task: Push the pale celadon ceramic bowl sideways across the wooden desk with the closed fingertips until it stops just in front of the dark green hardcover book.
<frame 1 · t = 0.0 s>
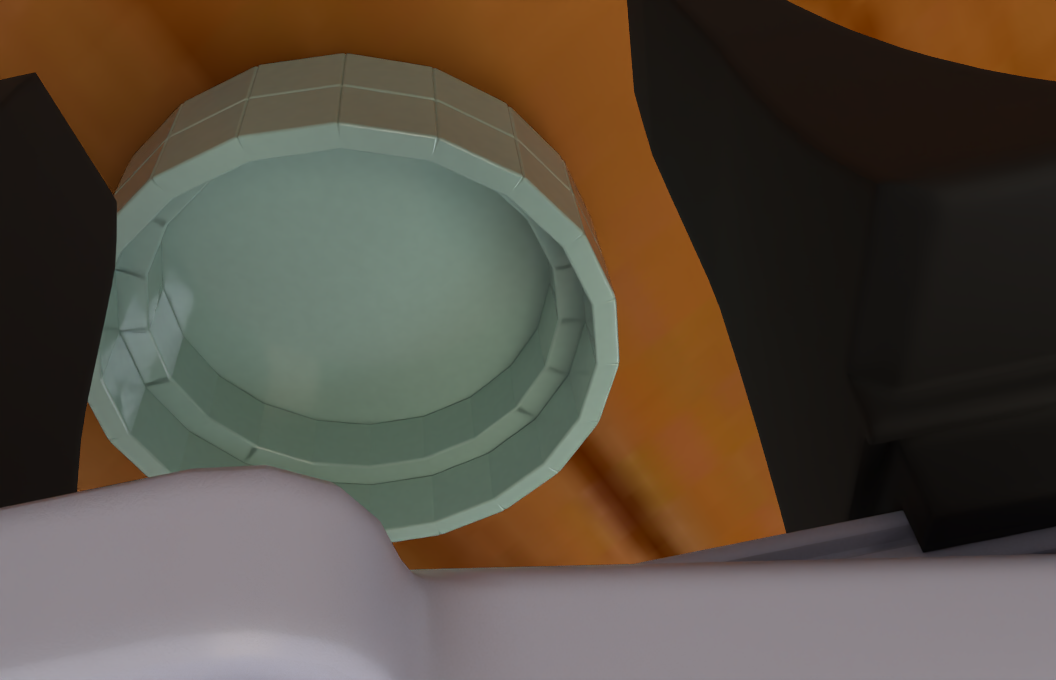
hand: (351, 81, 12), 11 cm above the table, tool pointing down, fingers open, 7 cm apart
bowl: (361, 273, 26), on the table
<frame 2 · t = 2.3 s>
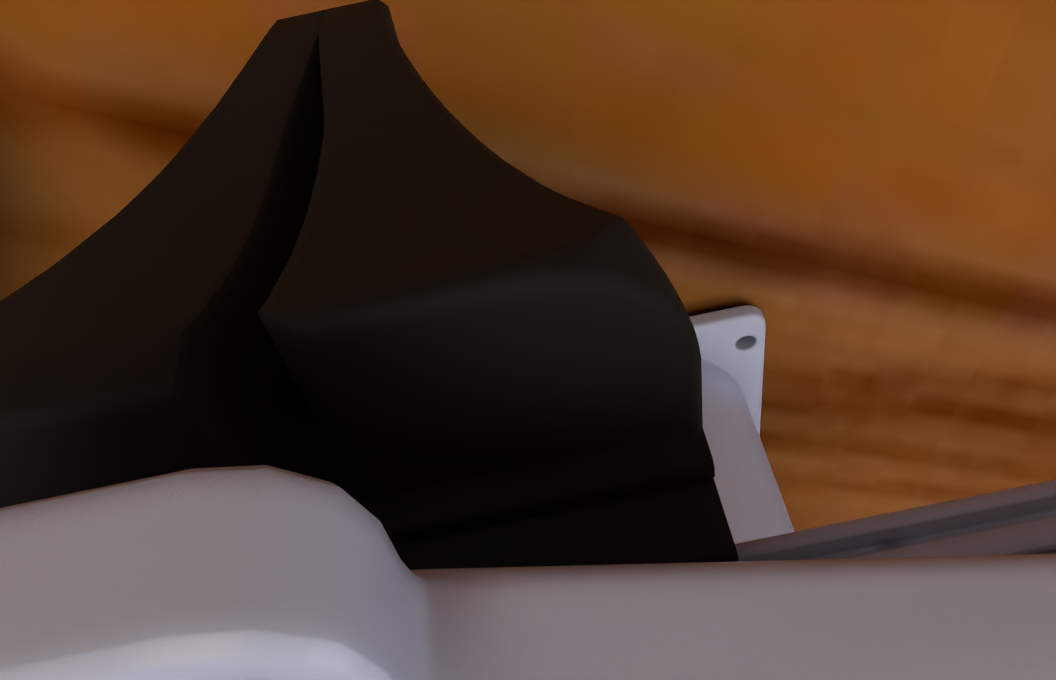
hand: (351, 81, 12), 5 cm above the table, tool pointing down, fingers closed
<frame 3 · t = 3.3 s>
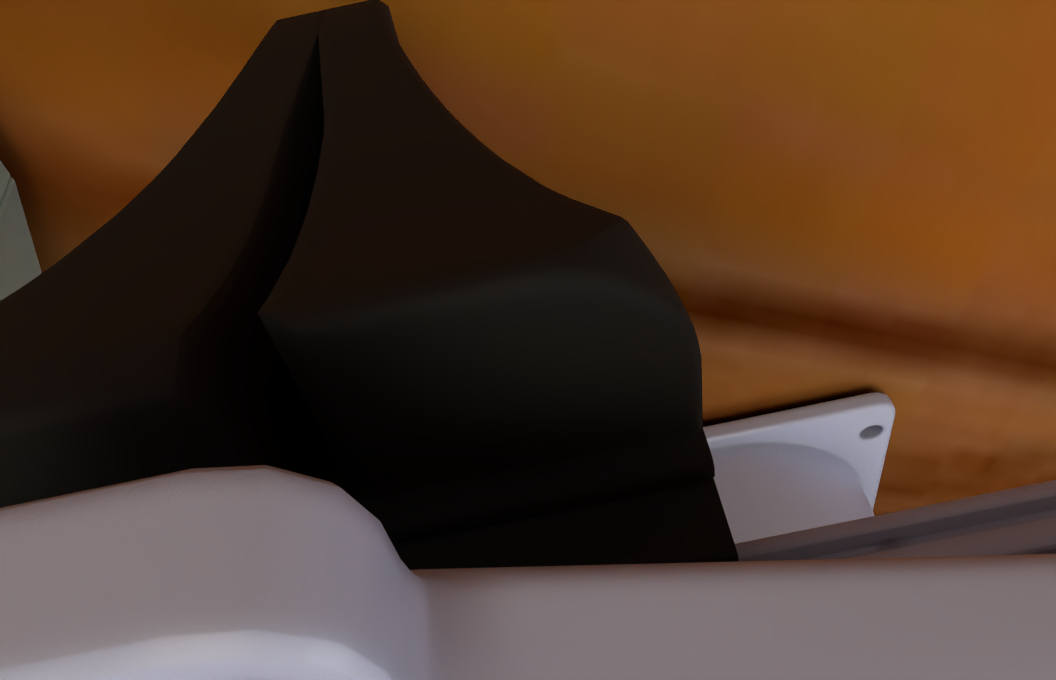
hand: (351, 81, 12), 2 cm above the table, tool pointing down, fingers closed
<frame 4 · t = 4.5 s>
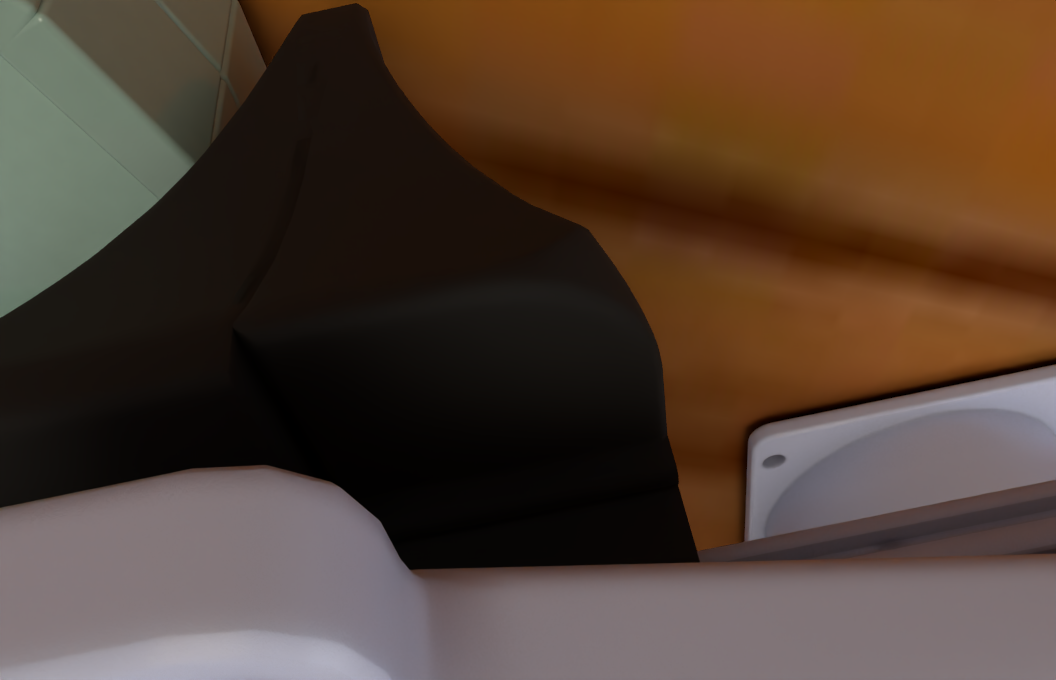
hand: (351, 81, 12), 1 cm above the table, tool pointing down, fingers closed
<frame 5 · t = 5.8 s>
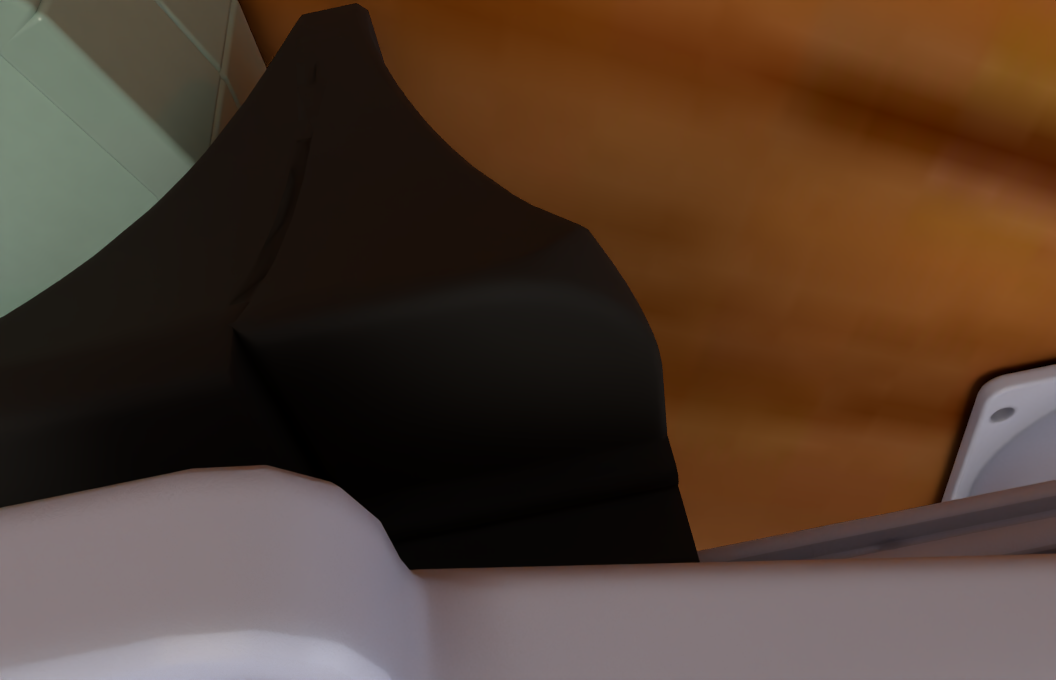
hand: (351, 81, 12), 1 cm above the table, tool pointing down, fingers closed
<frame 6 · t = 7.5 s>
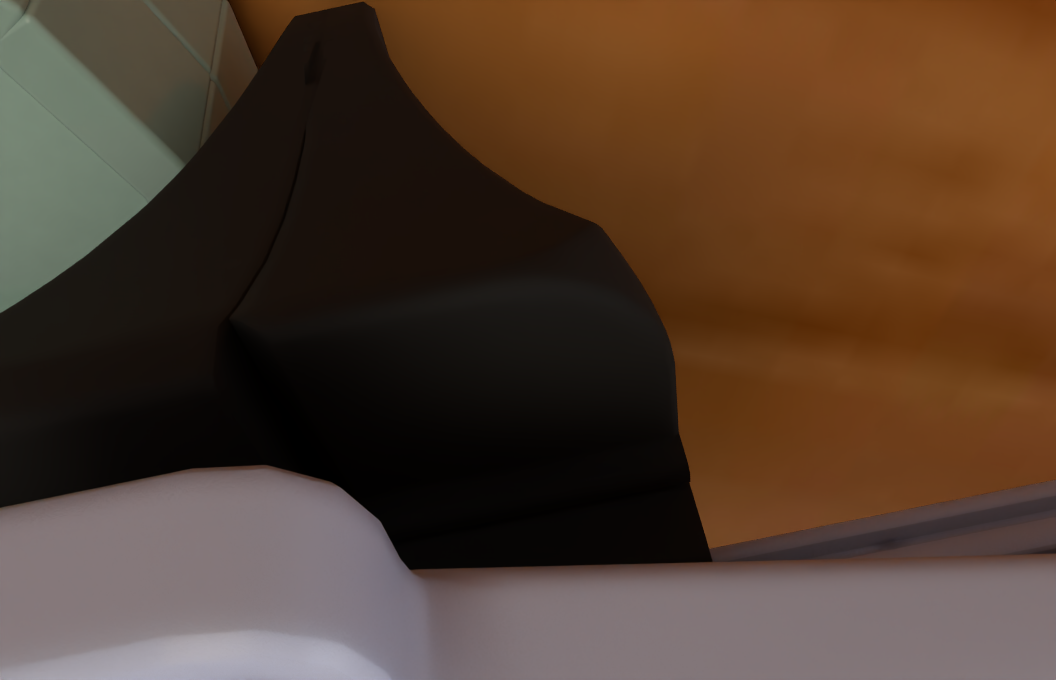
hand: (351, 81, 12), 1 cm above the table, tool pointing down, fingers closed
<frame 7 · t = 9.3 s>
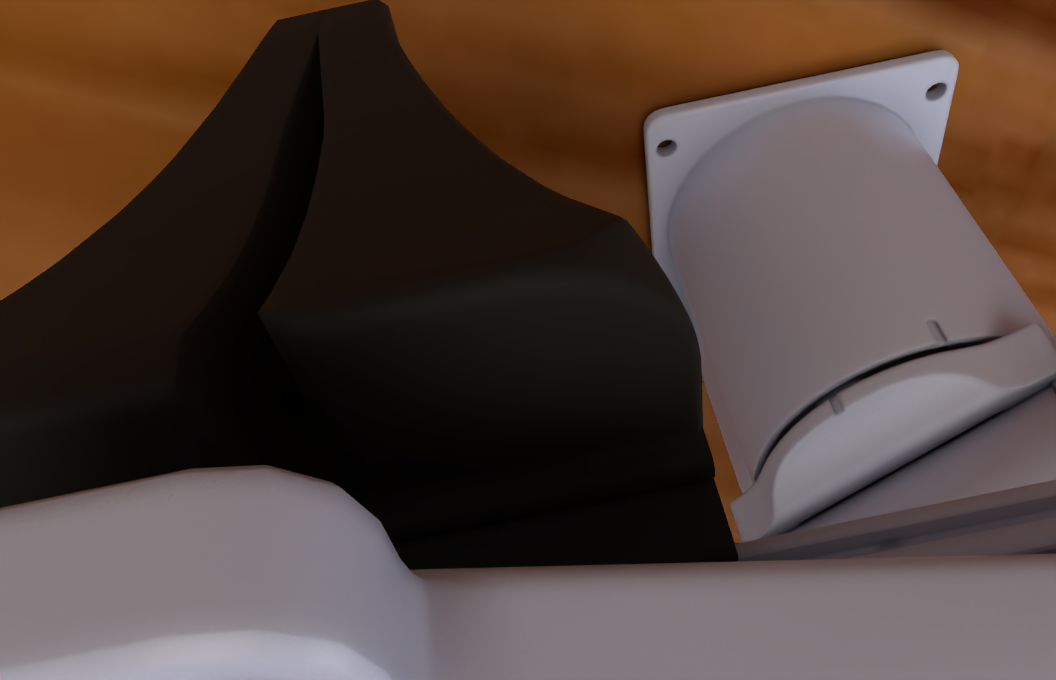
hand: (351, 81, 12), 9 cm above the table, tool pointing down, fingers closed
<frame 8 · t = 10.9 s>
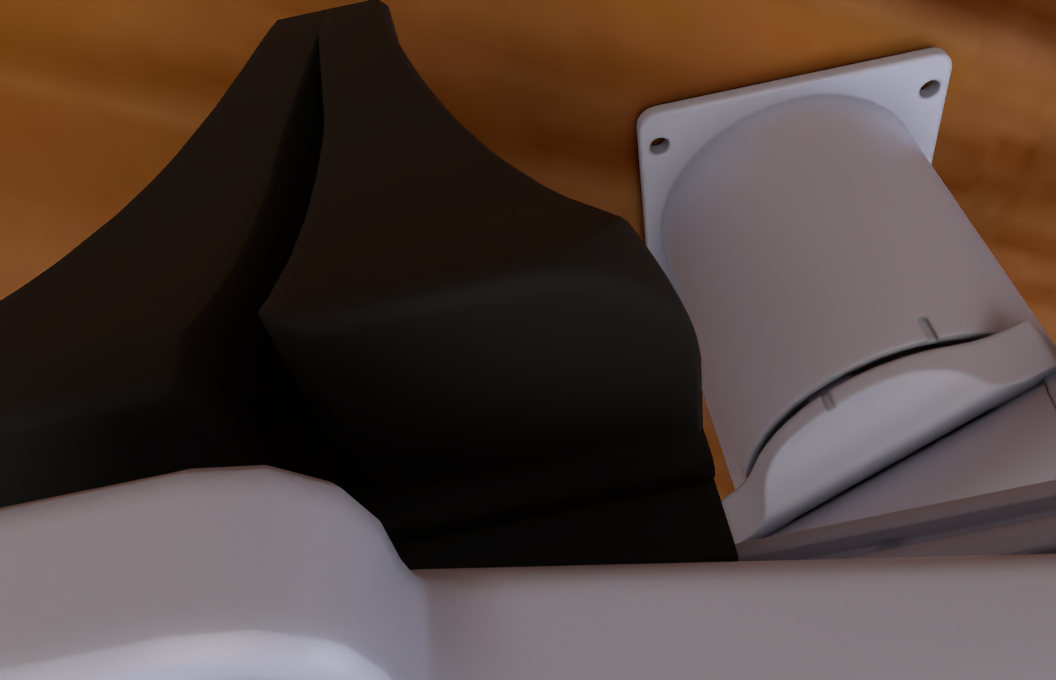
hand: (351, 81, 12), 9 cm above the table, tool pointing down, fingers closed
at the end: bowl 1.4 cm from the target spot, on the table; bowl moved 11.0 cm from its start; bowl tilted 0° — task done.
